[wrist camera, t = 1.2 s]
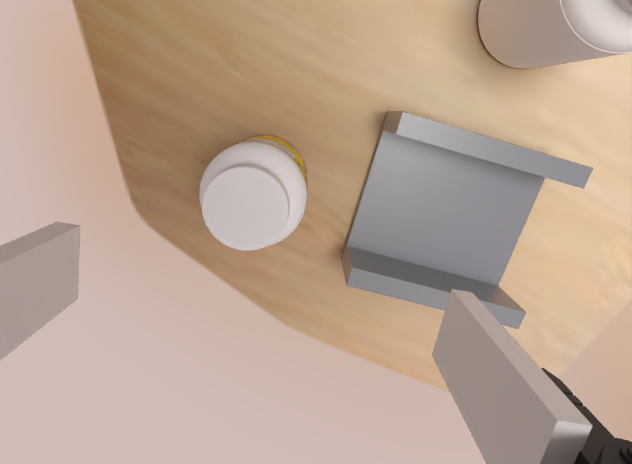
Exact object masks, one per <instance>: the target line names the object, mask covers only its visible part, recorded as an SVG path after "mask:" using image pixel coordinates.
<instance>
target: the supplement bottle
mask: <svg viewBox="0 0 632 464" xmlns="http://www.w3.org/2000/svg"><path fill="white" fill-rule="evenodd" d="M199 196H200V204H201V208H202V214H203V218H204V221H205V224H206V226H207V228H208V229H209V231H210V232H211V234H212V235H213V236H214V237H215V238H216V239H217V240H218V241H220V242H221V243H222V244H224V245H226V246H228V247H231V248H233V249H237V250H245V251H249V250H257V249H261V248H263V247H267V246H271V245H274V244H276V243H278V242H280V241H282V240H283V239H285V238H286V237H288V236H289V235H290V234H291V233H292V232H293V231H294V230H295V229H296V227H297V226H298V224H299V223H300V221H301V219H302V217H303V215H304V212H305V208H306V202H307V170H306V166H305V163H304V160H303V158H302V156H301V155H300V153H299V152H298V150H297V149H296V148H295V147H294V146H293V145H291V144H290V143H289V142H287V141H285V140H284V139H281V138H279V137H276V136H270V135H260V136H255V137H251V138H249V139H246V140H244V141H242V142H240V143H238V144H235V145H233V146H231V147H229V148H227V149H225V150H223V151H222V152H220V153H219V154H218V155H217V156H216V157H215V158H214V159H213V160H212V161H211V162H210V163H209V165H208V166H207V168H206V170H205V172H204V174H203V176H202V180H201V184H200V192H199Z"/></svg>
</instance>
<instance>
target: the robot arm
mask: <svg viewBox="0 0 632 464" xmlns="http://www.w3.org/2000/svg"><path fill="white" fill-rule="evenodd" d="M79 248H80V226H78V225H73V224H67V223H61V222H56V223H53V224H51V225H48V226H46V227H44V228H41V229H39V230H37V231H34V232H32V233H30V234H27V235H25V236H23V237H20V238H18V239H16V240H13V241H11V242H8V243H6V244H4V245H2V246H0V360H1V359H3V358H4V357H5V356H7V355H8V354H9V353H10V352H12V351H13V350H14V349H15V348H17V347H18V346H19V345H20V344H22V343H23V342H24V341H25V340H27V339H28V338H29V337H31V336H32V335H33V334H34V333H35V332H37V331H38V330H39V329H41V328H42V327H43V326H44V325H46V324H47V323H48V322H49V321H51V320H52V319H53V318H54V317H56V316H57V315H58V314H59V313H61V312H62V311H63V310H64V309H66V308H67V307H68V306H69V305H71V304H72V303H73V302H75V301H76V300H77V299H78V278H79ZM432 356H433V358H434V360H435V362H436V364H437V366H438V368H439V370H440V372H441V374H442V376H443V378H444V380H445V382H446V384H447V386H448V388H449V390H450V392H451V394H452V396H453V398H454V400H455V402H456V404H457V406H458V408H459V410H460V412H461V414H462V416H463V418H464V420H465V422H466V424H467V426H468V428H469V430H470V432H471V434H472V436H473V438H474V440H475V442H476V444H477V446H478V448H479V450H480V452H481V454H482V456H483V458H484V459H485V462H486V464H632V442H630V441H628V440H623V439H619V438H614V437H613V436H612V434H611V433H610V432H609V431H608V430H607V429H606V428H605V427H604V426H603V425H602V424H601V423H600V422H599V421H598V420H597V419H596V417H595V416H594V415H593V414H592V413H591V412H590V411H589V410H588V409H587V408H586V407H585V406H583V404H582V402H581V401H580V400H579V399H578V398H577V397H576V396H573V393H572V392H571V391H570V390H569V389H568V388H567V386H566V385H565V384H564V383H563V382H562V381H561V380H560V379H558V378H557V377H555V376H554V375H552V374H551V373H550V372H548V371H547V370H545V369H544V368H540V367H539V366H538V365H537V364H536V362H535V361H534V360H533V359H532V358H531V357H530V356H529V355H528V354H527V352H526V351H525V350H524V349H523V348H522V347H521V346H520V345H519V344H518V343H517V341H516V340H515V339H514V338H513V337H512V336H511V335H510V334H509V333H508V331H507V330H506V329H505V328H504V327H503V326H502V325H501V324H500V323H499V322H498V320H497V319H496V318H495V317H494V316H493V315H492V314H491V313H490V312H489V310H488V309H487V308H486V307H485V306H484V305H483V304H482V303H481V302H480V301H479V299H478V298H477V297H476V296H475V295H474V294H473V293H472V292H467V291H461V290H455V289H452V290H451V293H450V296H449V300H448V303H447V307H446V310H445V313H444V317H443V320H442V323H441V327H440V330H439V333H438V337H437V340H436V343H435V347H434V350H433V354H432Z"/></svg>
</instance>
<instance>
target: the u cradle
mask: <svg viewBox="0 0 632 464" xmlns="http://www.w3.org/2000/svg"><path fill="white" fill-rule="evenodd" d="M592 170H593V168H591V167H588V166H585V165H581V164H578V163H575V162H571V161H568V160H564V159H561V158H558V157H554V156H551V155H547V154H544V153H541V152H537V151H534V150H531V149H527V148H524V147H520V146H517V145H514V144H510V143H507V142H504V141H500V140H497V139H493V138H490V137H487V136H483V135H480V134H476V133H473V132H470V131H466V130H463V129H460V128H456V127H453V126H449V125H446V124H443V123H439V122H436V121H433V120H429V119H426V118H422V117H419V116H416V115H412V114H409V113H405V112H393V111H387V115H386V118H385V121H384V124H383V127H382V130H381V134H380V137H379V140H378V143H377V146H376V150H375V153H374V156H373V159H372V162H371V166H370V169H369V172H368V175H367V178H366V181H365V185H364V188H363V191H362V194H361V197H360V201H359V204H358V207H357V210H356V213H355V216H354V220H353V223H352V226H351V229H350V232H349V236H348V239H347V242H346V245H345V248H344V251H343V255H342V258H341V260H342V265H343V270H344V275H345V280H346V285H347V286H351V287H355V288H358V289H362V290H366V291H370V292H374V293H378V294H382V295H386V296H390V297H394V298H398V299H402V300H406V301H410V302H414V303H418V304H422V305H425V306H429V307H433V308H437V309H441V310H446V307H447V303H448V300H449V296H450V293H451V290H452V289H455V290H461V291H467V292H472V293H473V294H474V295H475V296H476V297H477V298H478V299H479V301H480V302H481V303H482V304H483V305H484V306H485V307H486V308H487V309H488V310H489V312H490V313H491V314H492V315H493V316H494V317H495V318H496V319H497V320H498V322H499V323H500V324H501V325H504V326H508V327H512V328H516V329H519V327H520V324H521V322H522V320H523V318H524V316H525V314H526V312H525V311H524V310H523V309H522V308H521V307H520V306H519V305H518V304H517V303H516V302H515V301H514V300H513V299H512V298H510V297H509V296H508V295H507V294H506V293H505V292H504V291H503V290H502V289H501V288H500V287H499V286H498V285H499V282H500V280H501V278H502V275H503V273H504V271H505V269H506V266H507V264H508V262H509V259H510V257H511V255H512V252H513V250H514V248H515V246H516V243H517V241H518V239H519V236H520V234H521V232H522V230H523V227H524V225H525V223H526V220H527V218H528V216H529V213H530V211H531V209H532V207H533V204H534V202H535V200H536V197H537V195H538V193H539V191H540V188H541V186H542V184H543V181H544V179H545V178H549V179H552V180H556V181H559V182H563V183H566V184H570V185H573V186H576V187H580V188H583V189H584V187H585V185H586V183H587V181H588V178H589V176H590V174H591V172H592Z"/></svg>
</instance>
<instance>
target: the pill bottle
mask: <svg viewBox="0 0 632 464" xmlns="http://www.w3.org/2000/svg"><path fill="white" fill-rule="evenodd" d="M478 26H479V32H480V36H481V39H482V41H483V43H484V45H485V47H486V49H487V50H488V52H489V53H490V54H491V55H492V56H493V57H494V58H495V59H496V60H498V61H499V62H501V63H503V64H505V65H507V66H510V67H514V68H522V69H532V68H539V67H545V66H551V65H558V64H564V63H570V62H577V61H583V60H589V59H596V58H602V57H608V56H615V55H621V54H627V53H632V0H481V2H480V6H479V13H478Z"/></svg>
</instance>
